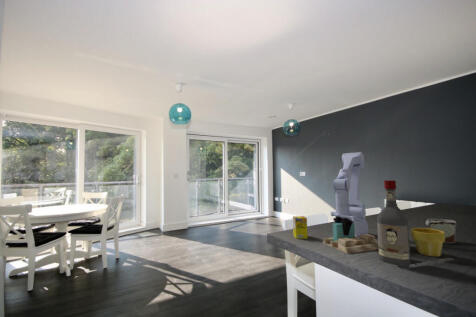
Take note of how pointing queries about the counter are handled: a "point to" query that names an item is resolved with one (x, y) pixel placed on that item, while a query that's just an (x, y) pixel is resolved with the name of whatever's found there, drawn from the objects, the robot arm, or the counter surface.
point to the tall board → (339, 232)
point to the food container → (443, 228)
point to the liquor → (393, 230)
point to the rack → (354, 248)
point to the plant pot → (428, 240)
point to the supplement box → (300, 227)
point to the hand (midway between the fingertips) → (343, 234)
